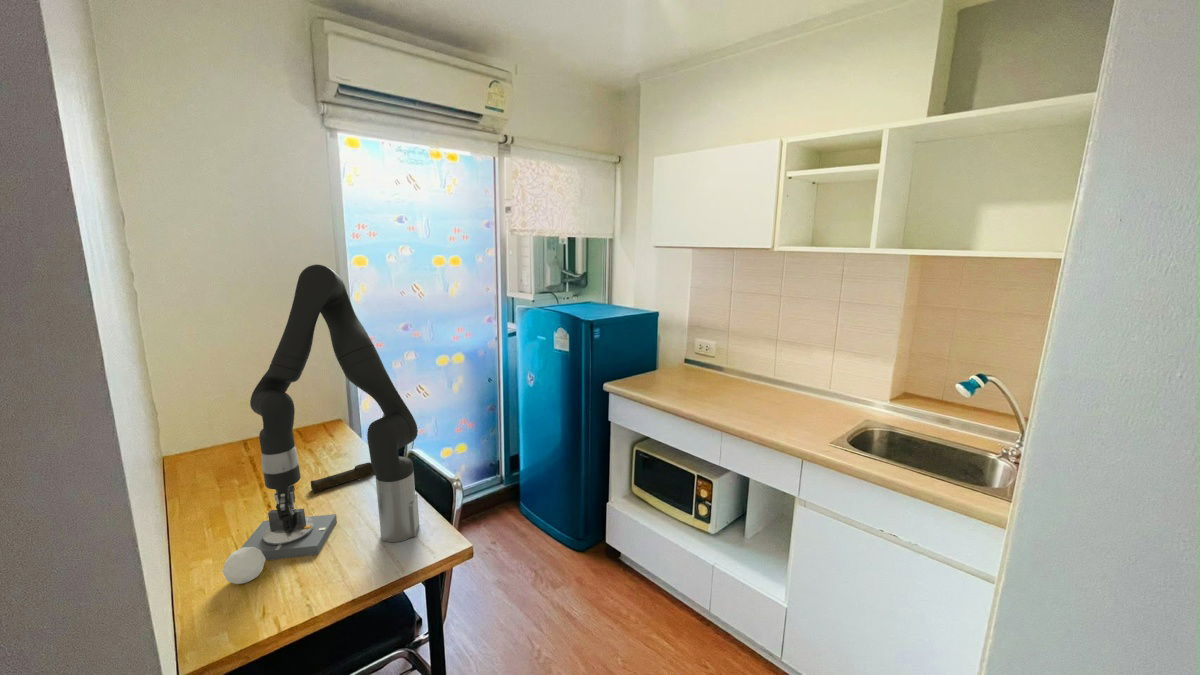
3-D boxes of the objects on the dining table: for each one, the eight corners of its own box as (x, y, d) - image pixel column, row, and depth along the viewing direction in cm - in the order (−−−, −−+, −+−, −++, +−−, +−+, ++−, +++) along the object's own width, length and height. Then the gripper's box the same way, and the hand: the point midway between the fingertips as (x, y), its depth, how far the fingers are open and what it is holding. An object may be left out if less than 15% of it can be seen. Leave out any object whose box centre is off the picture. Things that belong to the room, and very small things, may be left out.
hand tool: (313, 496, 145) (311, 482, 144) (310, 490, 148) (309, 477, 147) (378, 476, 157) (377, 464, 156) (374, 472, 160) (373, 459, 159)
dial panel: (336, 522, 132) (335, 513, 131) (318, 554, 118) (317, 544, 118) (264, 529, 128) (263, 520, 128) (237, 563, 115) (235, 553, 114)
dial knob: (278, 520, 128) (275, 500, 126) (321, 518, 129) (319, 498, 127) (253, 546, 117) (250, 524, 116) (300, 544, 118) (297, 522, 117)
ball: (253, 592, 109) (249, 581, 104) (217, 583, 108) (210, 571, 103) (274, 559, 115) (271, 547, 110) (240, 550, 114) (235, 537, 108)
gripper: (296, 474, 115) (305, 537, 118) (300, 451, 127) (308, 509, 130) (258, 481, 111) (268, 546, 115) (266, 457, 123) (275, 516, 127)
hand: (289, 526), depth 122 cm, fingers closed on dial knob, 2 cm apart
